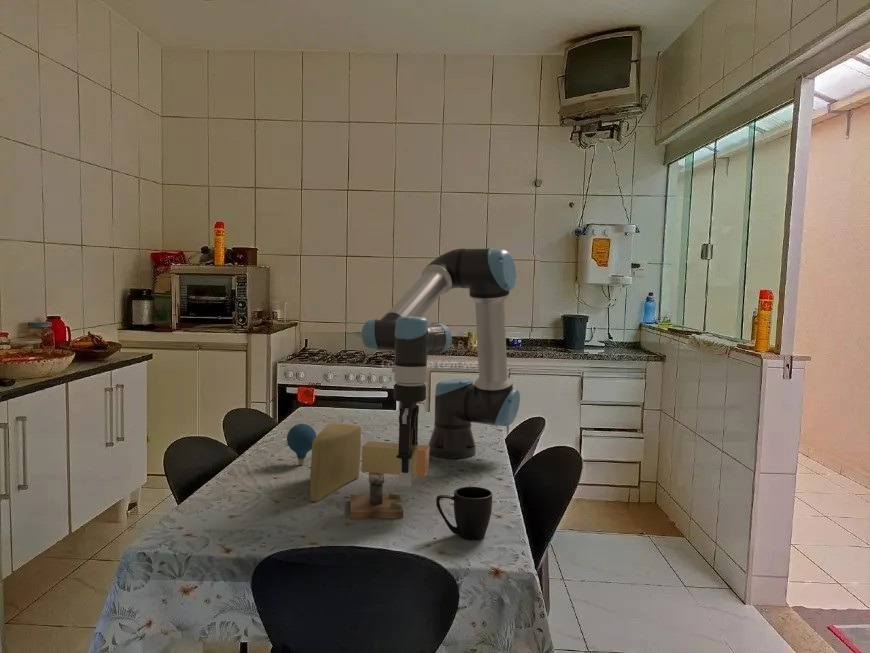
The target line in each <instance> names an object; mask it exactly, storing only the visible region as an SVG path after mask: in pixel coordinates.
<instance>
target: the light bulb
mask: <svg viewBox="0 0 870 653" xmlns="http://www.w3.org/2000/svg"><path fill="white" fill-rule="evenodd" d="M316 437H317V434H316V431H315V429H314V428H313V427H312V426H311V425H310V424H306V423H298V424H296V425H295V424H294V425H293V426H292V427H291V428H290V429H289V431H288V432H287V434H286V443H287V446H288V447H289V449H290V450H291V451H293V452H294V453H295V455H296V457H297V465H298V464H299V466H303V465H305V462H306V461H305V459H306V456H307V454H308V453H309V452H310V451H312V442H313V440H314V439H315V438H316Z"/></svg>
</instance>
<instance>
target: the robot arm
mask: <svg viewBox="0 0 870 653" xmlns="http://www.w3.org/2000/svg"><path fill="white" fill-rule="evenodd" d="M516 279H517V271H516V265H515V262H514V259H513V256H512V255H511V254H510V252H509V251H507V250H506V249H501V248H500V249H499V248H494V247H493V248H456V249H452V250H449V251H447V252H445V253H443V254H441V255H439V256H438V257H436V258H435V259H433V260H432V261H431V262H430V263H428V265H426V267H425V268H423V270H422V272H421V276H420V278H419V279H417V281H416V282H414V284H413V285H412V286H411V287H410V288H409V289H408V290H407V291H406V292H405V294H404V295H402V296H401V298H400V299H399V300H398V301H397V302H396V303H395V304H394V305H393V306H392V307H391V308H390V309H389V310H388V311H387V312H386V313H385V314H384V315H383V317H381V319H377V318H374V319H369V320H367V321H365V322H364V324H363V325H362V329H361V340H362V343H363V345H364V346H365V347H366V348H368V349H370V350H371V349H372V350H377V351H388V352H390V351H391V352H394V367H393V368H391V372H392V373H394V374H393V375H394V377H393V382H395V384H394V385H393V400H395V401H396V402H401V403H402V405H401V408H399V415H398V423H399V424H398V443H399V451H398V455H396V457H397V458H400V473H399V475H398V477H399V481H398V482H399V483H398V485H399V486H400V487H412V480H413V479H414V480H415V479H416V476H412V458H411V449H412V444H414V445H419V442H418V440H419V439H418V435H419V432H418V431H419V413H420V406H419V404H417V403H421V402H424V401H426V399H427V386H426V384H425V383H426V382H427V381H428V380H427V378H428V377H427V376H428V374H427V373H428V364H427V363H428V362H427V360H428V356H429V355H438V354H441V353H443V352H445V351H446V350H448V349H449V348H450V345H451V343H452V336H453V335H452V332H451V330H450V329H449V327H448V326H447V325H446V324H444V323H441V322H435V321H434V322H433V321H432V322H431V323H430V322H429V320H428V319H427V318H426V317H424V316H423V315H424V314H426V312H427V311H428V310H429V309H430V308H431V307H432V305H433V304H435V302H436V301H437V300H438V299H439V297H440V296H441V295H445V294H447V293H449V291H450V290H452V289H468V291H469V297H470V298H471V299H472V300H473V301H474V307H475V308H474V309H475V325H476V326H475V328H476V342H477V343H476V346H477V365H478V366H477V367H478V369H477V370H478V378H477V379H476V380H475V381H474V382H473V379H471V378H456V379H447V380H442V381H439V382H437V384H436V386H435V393H434V394H435V395H434V424H433V425H434V426H433V430H432V433H431V436H430V438H429V440H428V441H429V442H428V443H427V445H428V446H429V455H432V456H435V457H439V458H445V459H448V458H449V459H465V458H469V457H473V456H475V455H476V453H477V448H476V446H477V445H476V442H475V438H474V435H473V432H472V423H476V424H481V425H489V426H494V427H509V426H511V425H512V424H513V423H514V421H515V419H516V417H517V415H518V412H519V408H520V404H521V393H520V391H519V389H517V388H514V387H513V384H514V382H513V380H512V379H511V378H510V377H508V364H507V361H508V360H507V358H508V357H507V336H506V331H507V330H506V314H505V313H506V312H505V311H506V308H505V300H506V299H507V298H508V297H509V296H510V291H511V290H513V289H514V287H515V285H516Z"/></svg>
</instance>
